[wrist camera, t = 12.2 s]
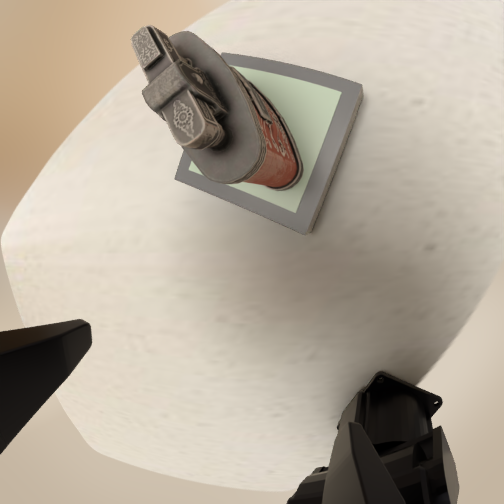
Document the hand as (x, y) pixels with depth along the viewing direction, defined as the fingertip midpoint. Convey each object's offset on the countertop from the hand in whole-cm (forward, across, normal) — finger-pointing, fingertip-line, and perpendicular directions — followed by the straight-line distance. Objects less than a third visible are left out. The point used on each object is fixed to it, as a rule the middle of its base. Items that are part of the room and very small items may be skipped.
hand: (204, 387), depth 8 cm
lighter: (+12, +3, -8) cm, 15 cm away
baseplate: (+14, +3, -8) cm, 16 cm away
